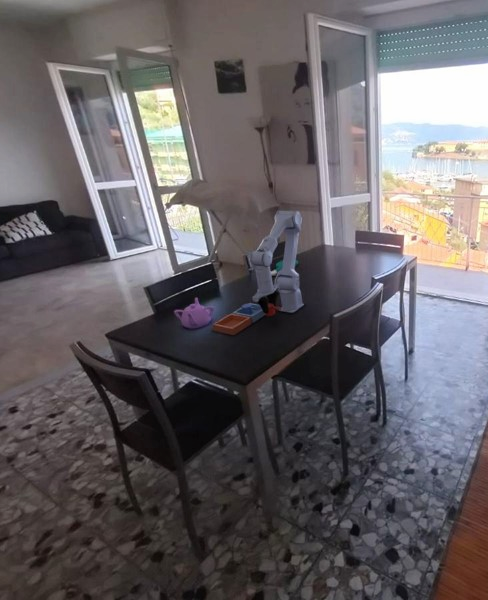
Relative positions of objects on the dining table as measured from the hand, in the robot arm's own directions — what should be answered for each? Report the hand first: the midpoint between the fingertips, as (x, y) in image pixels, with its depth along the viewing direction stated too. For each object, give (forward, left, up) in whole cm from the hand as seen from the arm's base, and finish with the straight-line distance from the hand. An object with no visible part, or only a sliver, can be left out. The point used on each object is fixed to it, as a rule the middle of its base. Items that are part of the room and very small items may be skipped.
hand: (269, 310), depth 148 cm
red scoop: (0, +2, -1) cm, 2 cm away
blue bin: (-3, -13, -6) cm, 15 cm away
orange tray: (+9, -13, -6) cm, 17 cm away
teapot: (+11, -30, -6) cm, 33 cm away
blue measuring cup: (-3, -13, -5) cm, 14 cm away
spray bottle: (-59, -38, -6) cm, 71 cm away
